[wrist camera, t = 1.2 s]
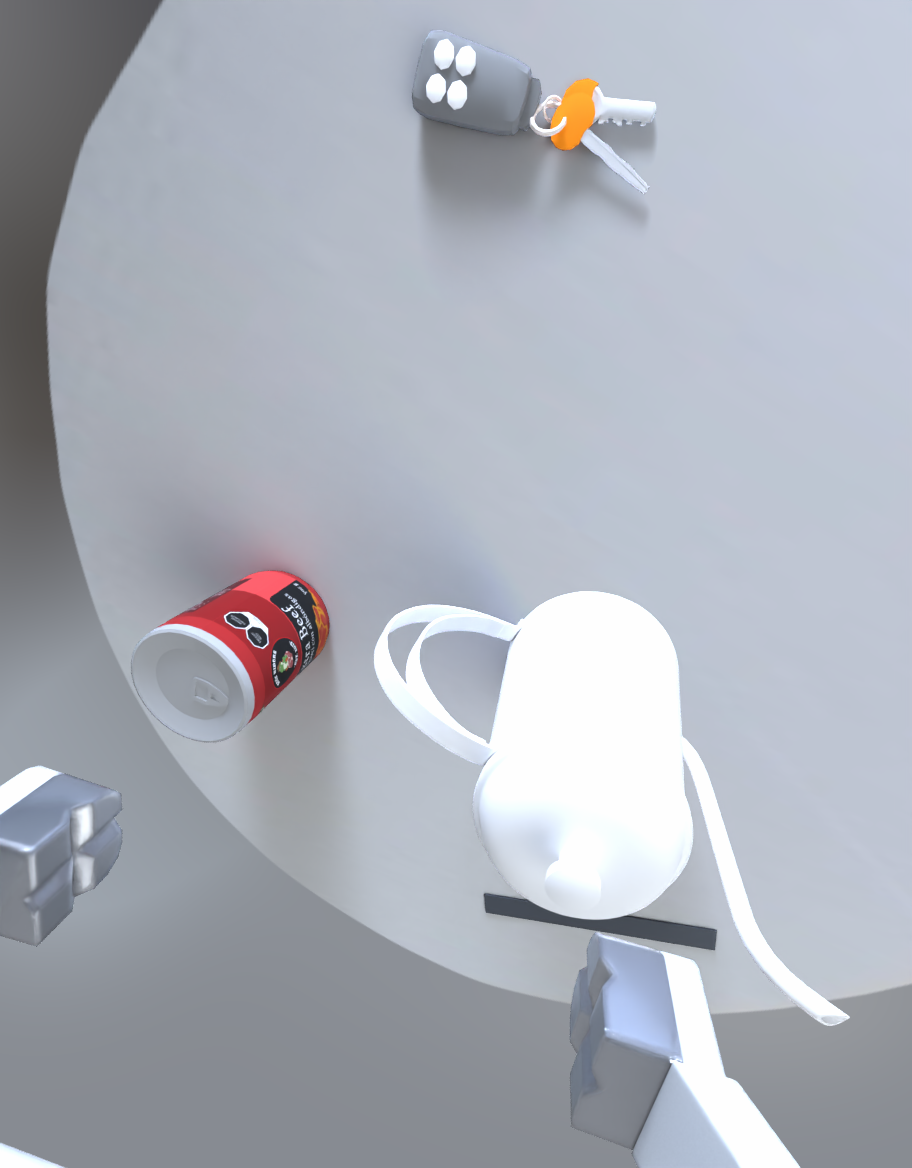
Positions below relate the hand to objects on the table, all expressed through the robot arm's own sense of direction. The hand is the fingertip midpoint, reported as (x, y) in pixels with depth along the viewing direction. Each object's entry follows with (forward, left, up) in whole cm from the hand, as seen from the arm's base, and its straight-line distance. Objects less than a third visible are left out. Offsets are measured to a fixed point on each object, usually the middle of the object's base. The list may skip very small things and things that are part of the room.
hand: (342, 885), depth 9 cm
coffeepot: (-3, +11, -29) cm, 32 cm away
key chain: (0, -20, -29) cm, 35 cm away
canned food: (+20, +8, -29) cm, 36 cm away
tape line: (-3, +34, -29) cm, 45 cm away
